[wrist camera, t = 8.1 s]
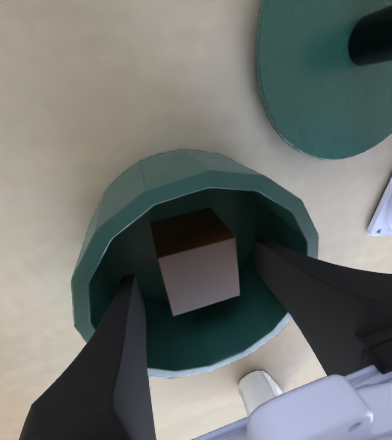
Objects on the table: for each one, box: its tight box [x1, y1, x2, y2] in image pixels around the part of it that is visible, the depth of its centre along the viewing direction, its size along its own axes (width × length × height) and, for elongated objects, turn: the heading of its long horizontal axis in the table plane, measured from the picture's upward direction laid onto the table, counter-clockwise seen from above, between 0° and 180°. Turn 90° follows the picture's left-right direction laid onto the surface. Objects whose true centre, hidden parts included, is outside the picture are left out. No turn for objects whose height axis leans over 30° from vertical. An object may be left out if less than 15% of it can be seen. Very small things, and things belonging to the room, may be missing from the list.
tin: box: [71, 149, 319, 379], centre depth 14 cm, size 12×12×6 cm
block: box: [150, 208, 240, 316], centre depth 14 cm, size 4×4×4 cm
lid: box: [255, 0, 392, 160], centre depth 12 cm, size 13×13×5 cm
